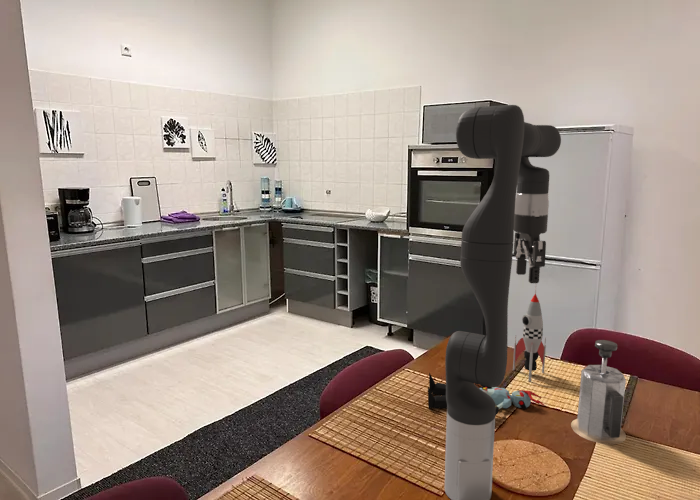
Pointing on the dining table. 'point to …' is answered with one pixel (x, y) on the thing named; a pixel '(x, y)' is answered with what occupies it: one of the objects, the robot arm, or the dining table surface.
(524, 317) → the toy
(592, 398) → the french press
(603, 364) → the plunger
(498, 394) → the toy
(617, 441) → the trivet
